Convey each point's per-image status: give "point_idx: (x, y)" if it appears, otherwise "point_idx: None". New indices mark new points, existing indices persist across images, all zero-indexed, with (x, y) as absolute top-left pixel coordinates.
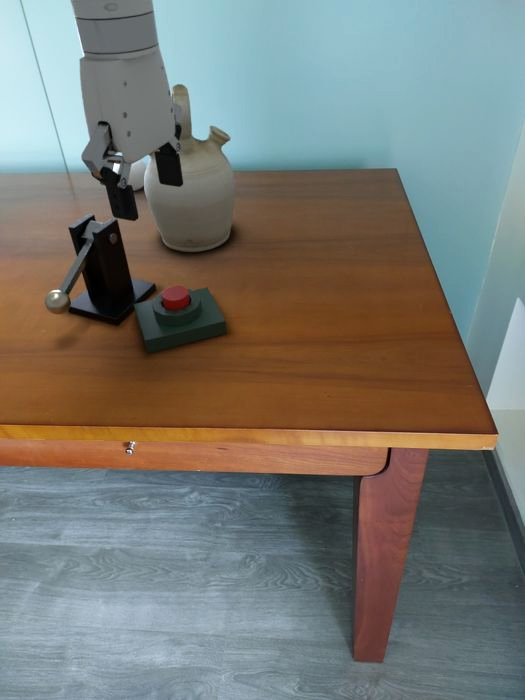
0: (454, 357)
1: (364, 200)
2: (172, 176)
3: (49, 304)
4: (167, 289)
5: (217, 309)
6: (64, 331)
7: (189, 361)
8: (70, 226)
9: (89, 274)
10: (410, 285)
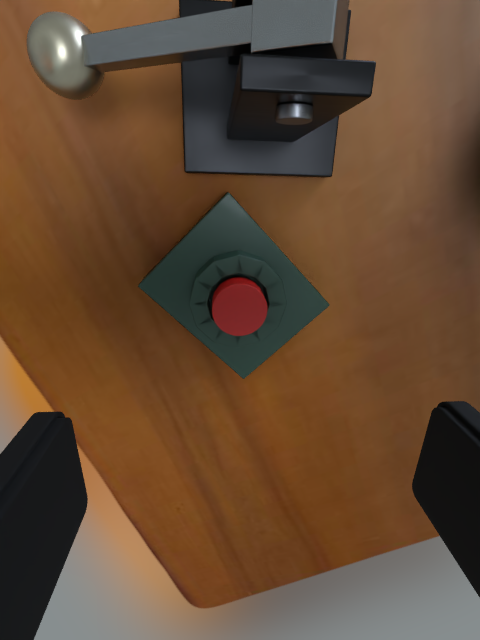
0: (288, 578)
1: None
2: (443, 506)
3: (28, 54)
4: (246, 289)
5: (268, 354)
6: None
7: (158, 347)
8: None
9: None
10: (419, 521)
